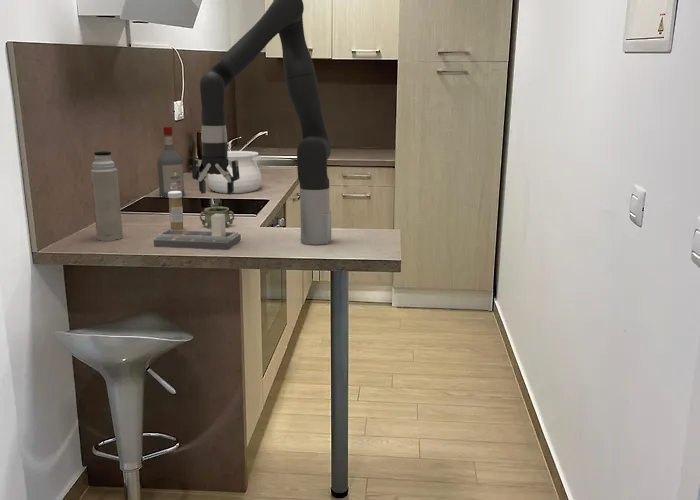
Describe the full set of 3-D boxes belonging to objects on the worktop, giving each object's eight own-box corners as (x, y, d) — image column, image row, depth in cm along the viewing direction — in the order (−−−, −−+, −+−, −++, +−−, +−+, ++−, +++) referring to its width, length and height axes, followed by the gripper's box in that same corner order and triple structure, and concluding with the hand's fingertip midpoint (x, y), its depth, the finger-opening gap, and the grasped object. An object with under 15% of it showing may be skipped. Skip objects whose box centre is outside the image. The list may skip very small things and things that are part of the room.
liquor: (186, 197, 298) (182, 127, 290) (166, 199, 292) (161, 128, 285) (177, 194, 305) (173, 126, 297) (158, 196, 299) (153, 127, 292)
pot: (199, 194, 306) (197, 156, 302) (216, 185, 329) (214, 150, 325) (255, 195, 303) (254, 156, 299) (268, 186, 326) (267, 150, 322)
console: (240, 240, 219) (240, 230, 219) (228, 249, 208) (227, 239, 207) (170, 237, 224) (169, 227, 223) (153, 246, 212) (153, 236, 211)
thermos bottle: (93, 241, 219) (84, 153, 212) (102, 235, 227) (94, 150, 220) (117, 241, 219) (110, 153, 212) (126, 235, 227) (119, 150, 220)
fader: (226, 235, 216) (225, 213, 214) (220, 239, 211) (219, 216, 210) (217, 235, 217) (216, 213, 215) (211, 238, 212) (210, 216, 210)
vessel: (235, 223, 245) (234, 206, 243) (234, 228, 236) (233, 210, 235) (201, 224, 244) (200, 206, 242) (198, 229, 235) (197, 211, 234)
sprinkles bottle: (171, 229, 235) (168, 190, 232) (185, 229, 236) (182, 190, 232) (169, 232, 231) (166, 192, 228) (183, 232, 231) (180, 192, 228)
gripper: (241, 140, 209) (242, 192, 213) (196, 138, 212) (199, 190, 216) (232, 142, 202) (234, 196, 206) (187, 141, 204) (189, 194, 208)
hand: (216, 193), depth 211 cm, fingers open, 8 cm apart
